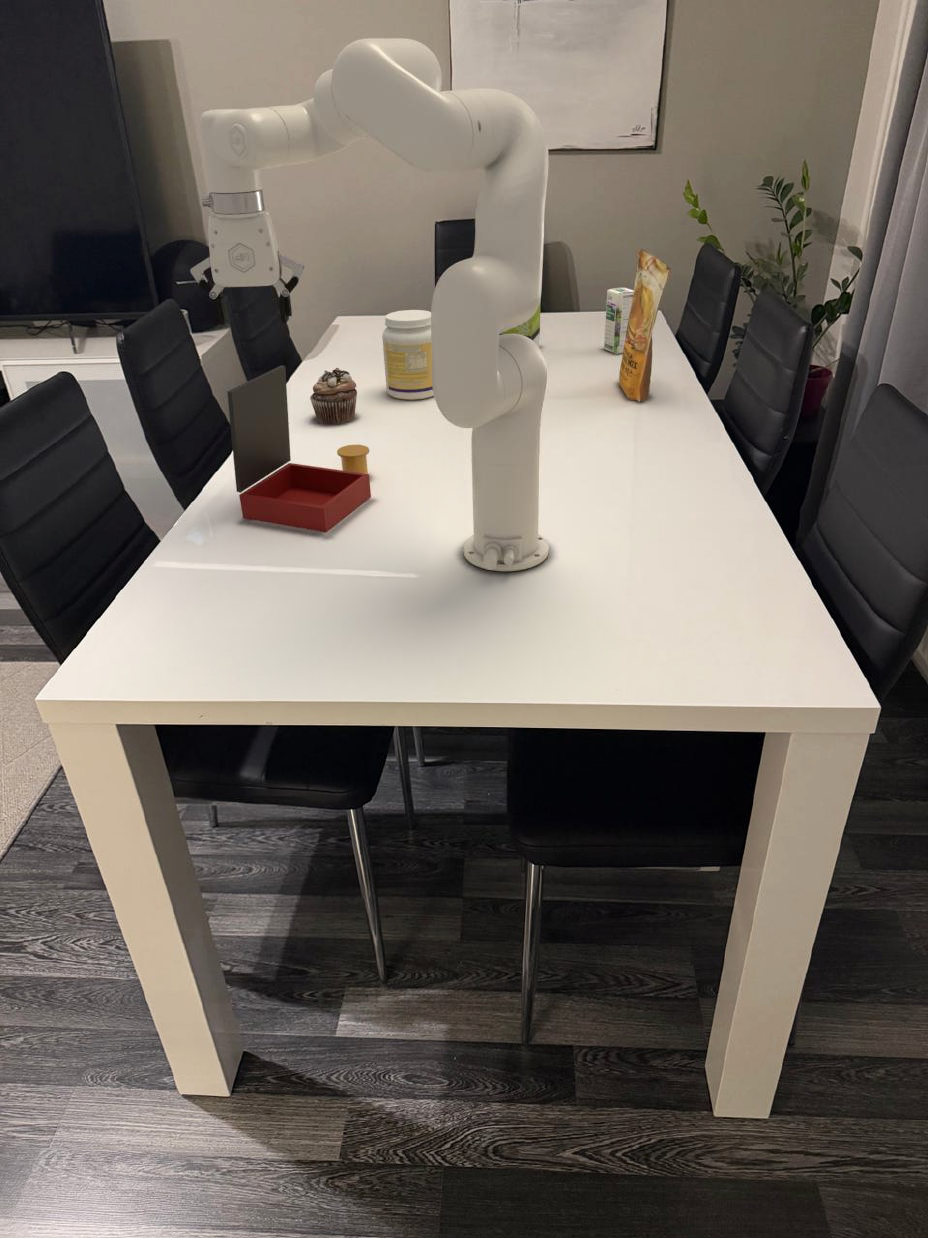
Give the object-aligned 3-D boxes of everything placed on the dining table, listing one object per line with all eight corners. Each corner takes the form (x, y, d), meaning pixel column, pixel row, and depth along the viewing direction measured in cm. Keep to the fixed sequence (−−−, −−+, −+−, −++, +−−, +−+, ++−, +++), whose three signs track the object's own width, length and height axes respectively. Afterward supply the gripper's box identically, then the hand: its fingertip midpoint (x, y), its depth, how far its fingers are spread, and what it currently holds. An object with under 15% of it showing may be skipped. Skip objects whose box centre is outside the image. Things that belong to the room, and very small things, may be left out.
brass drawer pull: (367, 485, 160) (364, 456, 157) (336, 484, 161) (333, 455, 158) (374, 473, 165) (372, 444, 162) (344, 472, 166) (341, 444, 163)
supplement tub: (449, 396, 202) (446, 317, 193) (396, 404, 198) (390, 324, 189) (430, 381, 212) (426, 306, 203) (379, 389, 208) (373, 312, 199)
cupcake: (336, 407, 197) (331, 361, 192) (368, 416, 192) (364, 368, 187) (303, 420, 191) (297, 372, 186) (335, 429, 186) (330, 380, 181)
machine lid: (285, 365, 148) (281, 365, 148) (231, 392, 137) (227, 391, 137) (290, 460, 157) (286, 459, 157) (240, 492, 146) (236, 491, 146)
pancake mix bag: (643, 377, 210) (653, 246, 195) (661, 403, 193) (673, 263, 179) (614, 378, 209) (621, 247, 195) (629, 405, 193) (638, 264, 179)
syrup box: (602, 349, 231) (605, 289, 223) (622, 345, 233) (626, 286, 226) (615, 354, 226) (618, 293, 219) (635, 351, 229) (639, 290, 221)
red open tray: (371, 500, 154) (369, 474, 152) (326, 536, 143) (323, 508, 141) (292, 488, 160) (289, 462, 158) (243, 522, 149) (238, 494, 146)
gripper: (173, 209, 133) (194, 329, 142) (292, 205, 133) (306, 326, 142) (186, 202, 140) (205, 318, 148) (300, 199, 139) (312, 314, 148)
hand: (255, 322), depth 145 cm, fingers open, 9 cm apart
